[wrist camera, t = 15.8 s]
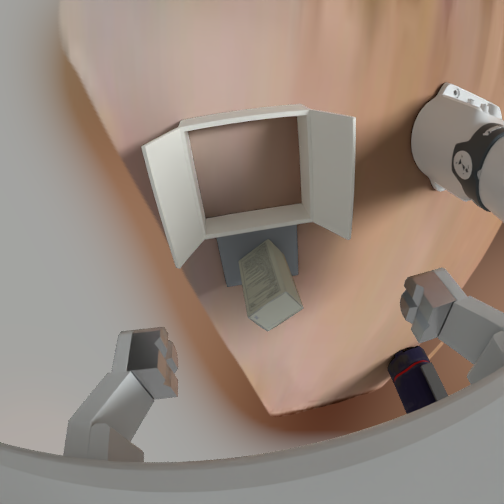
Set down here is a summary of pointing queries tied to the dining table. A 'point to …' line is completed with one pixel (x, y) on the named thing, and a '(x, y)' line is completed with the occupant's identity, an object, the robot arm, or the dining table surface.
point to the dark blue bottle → (415, 379)
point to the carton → (310, 210)
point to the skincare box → (268, 286)
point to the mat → (244, 243)
